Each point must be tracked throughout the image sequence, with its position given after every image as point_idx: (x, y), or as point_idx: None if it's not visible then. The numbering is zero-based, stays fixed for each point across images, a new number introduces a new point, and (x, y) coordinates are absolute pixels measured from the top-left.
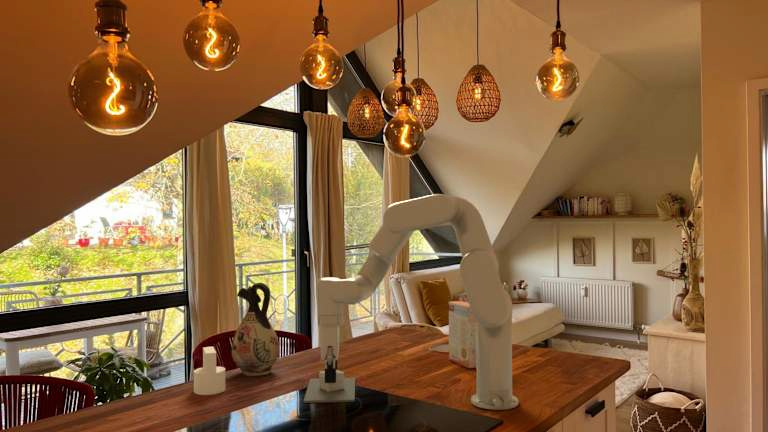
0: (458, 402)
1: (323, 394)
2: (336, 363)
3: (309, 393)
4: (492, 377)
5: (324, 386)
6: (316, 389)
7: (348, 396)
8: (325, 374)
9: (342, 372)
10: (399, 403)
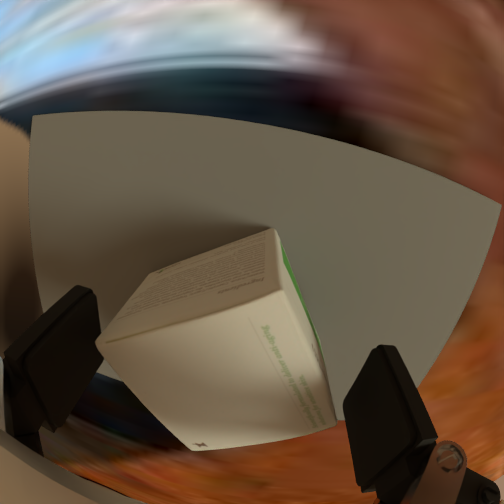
0: (106, 481)
1: (109, 237)
2: (354, 469)
3: (144, 139)
4: None
5: (178, 269)
6: (236, 200)
7: None
8: (37, 326)
9: (186, 445)
10: (75, 429)
